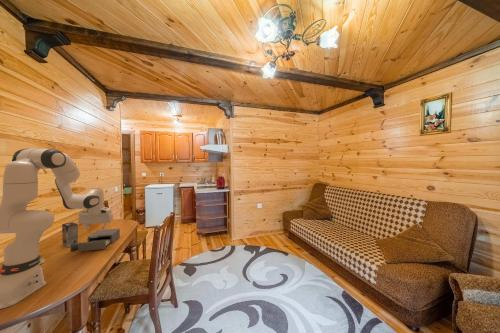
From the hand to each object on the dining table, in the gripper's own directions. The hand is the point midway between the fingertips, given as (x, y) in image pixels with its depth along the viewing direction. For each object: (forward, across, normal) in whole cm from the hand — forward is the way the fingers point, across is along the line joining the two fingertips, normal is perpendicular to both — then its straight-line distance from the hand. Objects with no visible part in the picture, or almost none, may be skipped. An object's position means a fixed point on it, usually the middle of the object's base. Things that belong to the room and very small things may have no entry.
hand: (96, 229), depth 137 cm
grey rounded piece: (+14, -13, -1) cm, 19 cm away
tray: (+13, 0, +1) cm, 13 cm away
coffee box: (+14, -21, +10) cm, 28 cm away
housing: (+14, 0, +12) cm, 18 cm away
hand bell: (+14, -24, -16) cm, 32 cm away
